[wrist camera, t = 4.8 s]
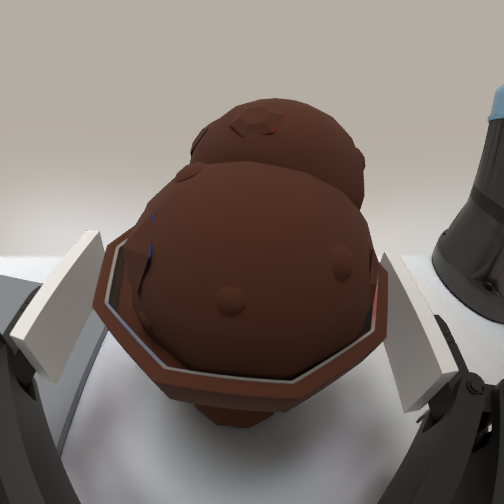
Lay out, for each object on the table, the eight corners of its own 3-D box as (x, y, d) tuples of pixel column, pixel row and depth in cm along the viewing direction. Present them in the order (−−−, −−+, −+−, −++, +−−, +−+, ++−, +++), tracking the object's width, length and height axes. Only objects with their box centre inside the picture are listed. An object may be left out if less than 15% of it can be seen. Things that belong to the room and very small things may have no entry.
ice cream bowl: (168, 313, 20) (147, 91, 12) (321, 328, 20) (378, 110, 12) (124, 447, 12) (-40, 159, 3) (333, 471, 11) (549, 208, 3)
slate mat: (121, 301, 21) (119, 296, 20) (56, 469, 9) (51, 466, 9) (2, 279, 20) (0, 274, 20) (-66, 384, 9) (-70, 379, 9)
